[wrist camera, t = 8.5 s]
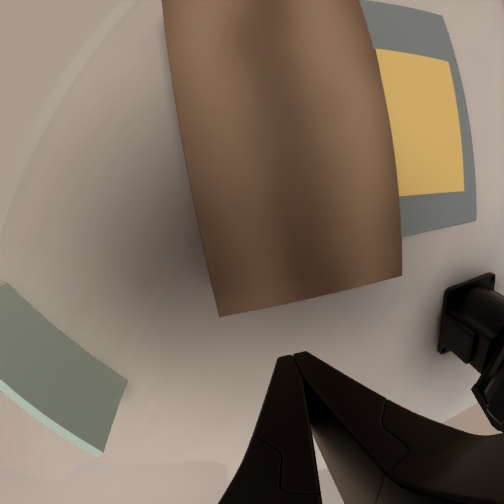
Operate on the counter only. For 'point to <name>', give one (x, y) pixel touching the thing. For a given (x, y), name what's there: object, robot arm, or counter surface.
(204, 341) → the counter surface
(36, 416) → the right angle wall
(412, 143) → the yellow flat block
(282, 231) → the brown flat block
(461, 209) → the mat
